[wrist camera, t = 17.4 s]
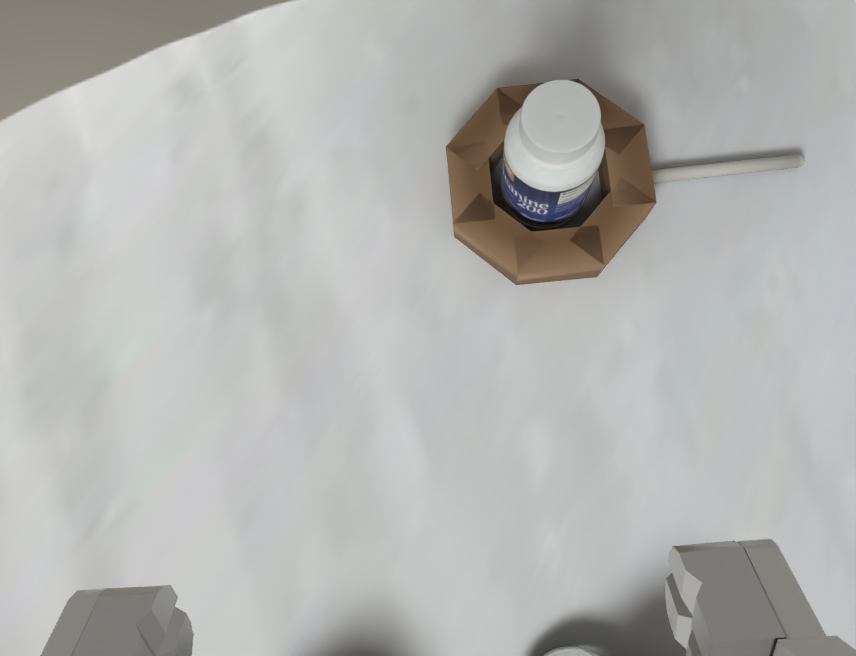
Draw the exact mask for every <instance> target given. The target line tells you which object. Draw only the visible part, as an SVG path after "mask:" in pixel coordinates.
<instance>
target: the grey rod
mask: <svg viewBox="0 0 856 656" xmlns="http://www.w3.org/2000/svg"><path fill="white" fill-rule="evenodd" d="M804 162H805V159H804V157H803V156H802V155H800V154H795V155H786V156H776V157H767V158H758V159H748V160H739V161H730V162H720V163H711V164H702V165H692V166H683V167H674V168H665V169H655V170H651V172H652V178H653V183H656V182H665V181H675V180H684V179H694V178H703V177H712V176H722V175H731V174H741V173H750V172H760V171H769V170H778V169H788V168H797V167H801V166H802V165H803V164H804Z"/></svg>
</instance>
